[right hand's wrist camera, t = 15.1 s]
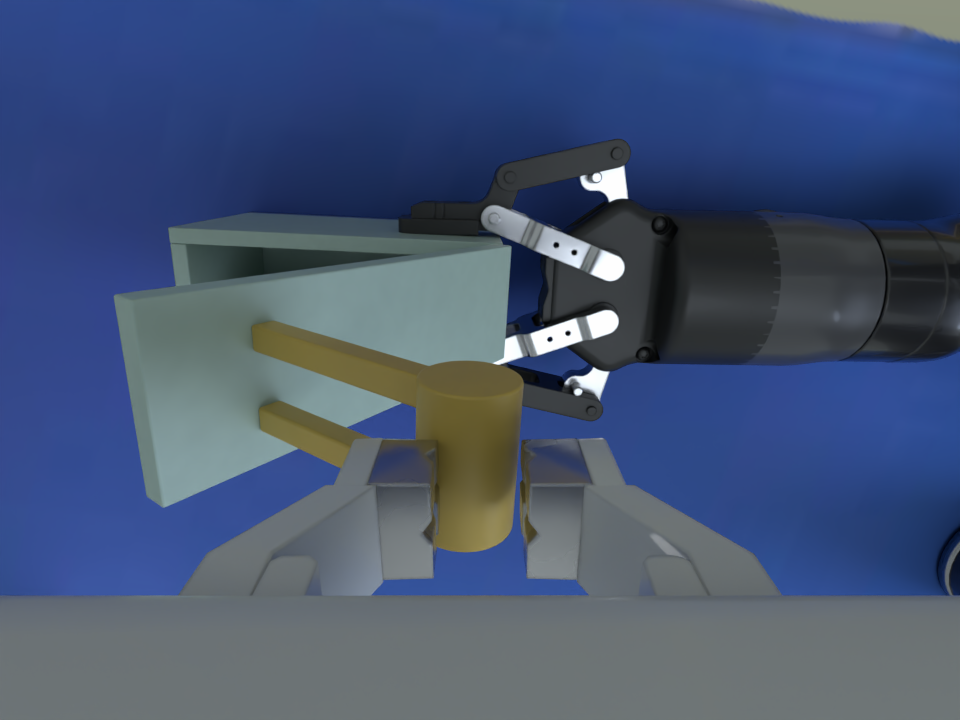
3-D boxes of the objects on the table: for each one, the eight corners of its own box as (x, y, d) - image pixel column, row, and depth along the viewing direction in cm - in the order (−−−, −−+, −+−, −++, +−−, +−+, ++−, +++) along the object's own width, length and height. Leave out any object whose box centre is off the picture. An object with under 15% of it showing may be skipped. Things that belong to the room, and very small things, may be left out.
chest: (259, 295, 34) (181, 340, 25) (252, 211, 32) (167, 227, 23) (489, 305, 34) (496, 353, 25) (494, 223, 33) (503, 242, 23)
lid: (146, 497, 13) (404, 677, 9) (112, 294, 12) (405, 392, 7) (489, 354, 25) (673, 402, 21) (495, 243, 23) (696, 270, 19)
